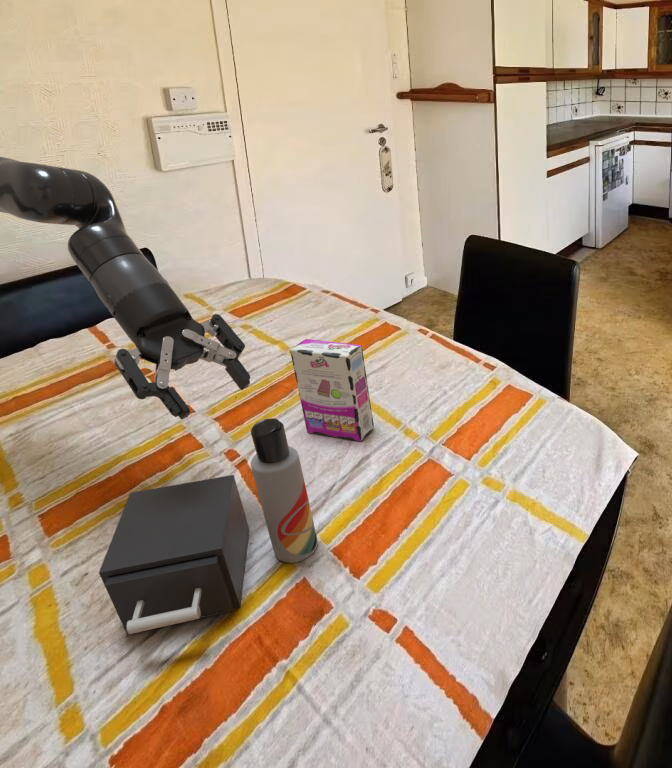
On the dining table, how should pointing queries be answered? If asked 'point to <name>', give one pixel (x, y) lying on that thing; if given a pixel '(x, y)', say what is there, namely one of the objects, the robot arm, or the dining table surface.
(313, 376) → the candy bar box
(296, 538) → the lotion bottle
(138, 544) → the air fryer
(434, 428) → the dining table surface
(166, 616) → the drawer
